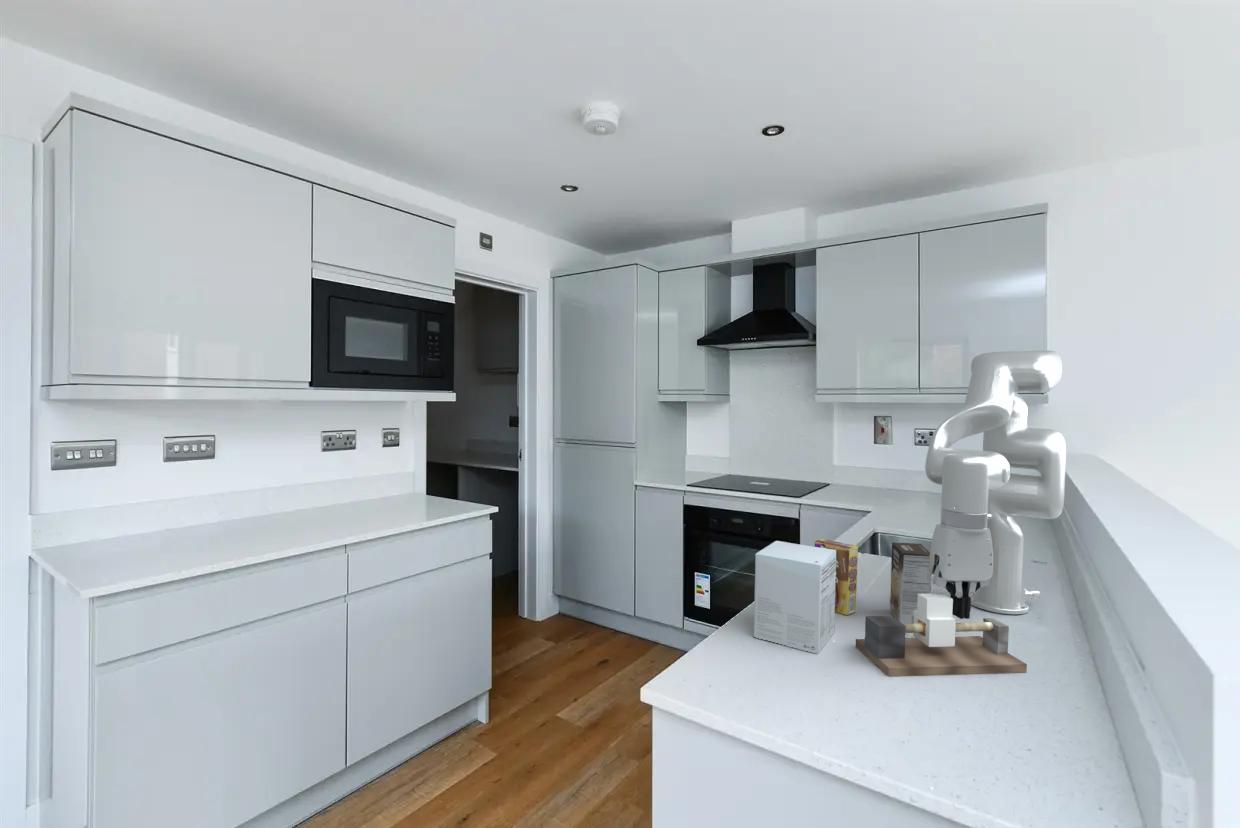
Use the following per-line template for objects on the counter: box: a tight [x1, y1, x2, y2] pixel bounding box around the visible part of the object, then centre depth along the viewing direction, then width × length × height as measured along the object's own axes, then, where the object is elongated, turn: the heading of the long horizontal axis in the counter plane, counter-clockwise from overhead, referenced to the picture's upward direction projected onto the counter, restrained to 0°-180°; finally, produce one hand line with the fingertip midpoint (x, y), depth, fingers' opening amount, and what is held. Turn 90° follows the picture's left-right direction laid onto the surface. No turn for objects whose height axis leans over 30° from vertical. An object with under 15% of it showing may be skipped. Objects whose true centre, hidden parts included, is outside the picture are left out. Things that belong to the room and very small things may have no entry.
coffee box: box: [889, 542, 933, 624], centre depth 129 cm, size 9×6×16 cm
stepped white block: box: [912, 592, 957, 647], centre depth 109 cm, size 5×5×8 cm
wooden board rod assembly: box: [855, 614, 1028, 677], centre depth 110 cm, size 26×12×8 cm, turn 95°
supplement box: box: [752, 540, 836, 655], centre depth 119 cm, size 13×13×18 cm
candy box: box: [814, 538, 859, 616], centre depth 135 cm, size 9×4×15 cm, turn 39°
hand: (959, 615), depth 110 cm, fingers closed
